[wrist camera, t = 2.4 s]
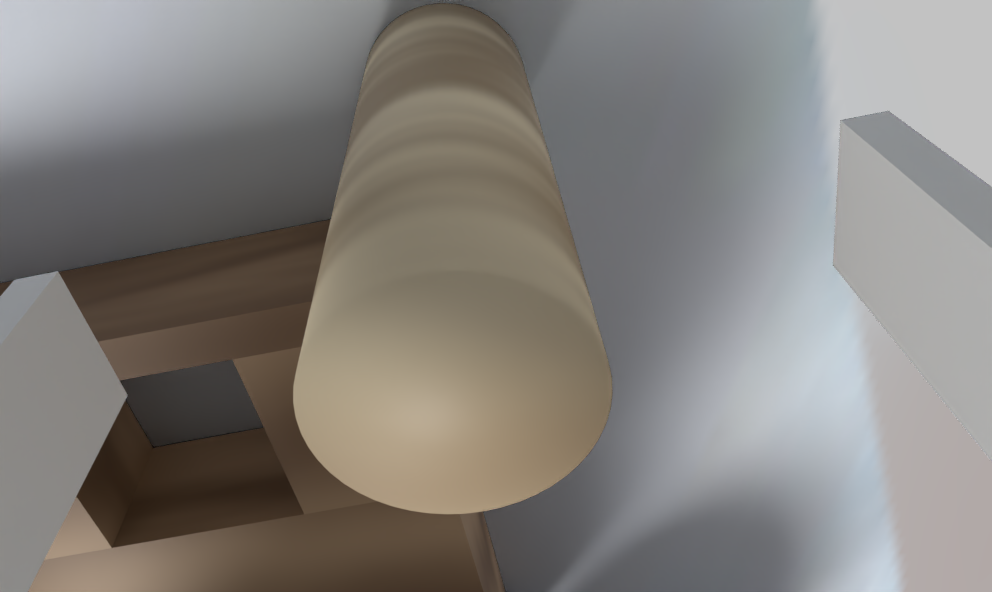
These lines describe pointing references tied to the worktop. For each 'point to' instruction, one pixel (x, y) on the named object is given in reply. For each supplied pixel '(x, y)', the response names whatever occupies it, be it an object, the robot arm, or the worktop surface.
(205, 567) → the socket block
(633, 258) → the worktop surface
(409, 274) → the peg
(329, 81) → the worktop surface
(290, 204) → the worktop surface
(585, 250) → the worktop surface
